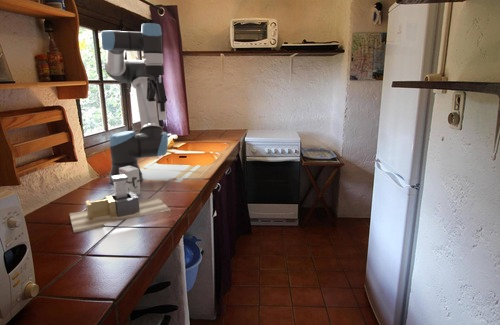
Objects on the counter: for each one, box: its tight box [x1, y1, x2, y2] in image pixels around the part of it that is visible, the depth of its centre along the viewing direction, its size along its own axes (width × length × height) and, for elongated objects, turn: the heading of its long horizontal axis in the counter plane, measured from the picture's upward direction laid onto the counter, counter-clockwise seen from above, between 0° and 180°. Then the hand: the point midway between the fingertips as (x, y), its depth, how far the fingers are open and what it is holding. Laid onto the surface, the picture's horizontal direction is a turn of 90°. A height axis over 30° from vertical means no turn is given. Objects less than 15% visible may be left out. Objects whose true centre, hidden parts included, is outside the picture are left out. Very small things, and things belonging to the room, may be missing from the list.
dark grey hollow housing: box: [111, 192, 140, 217], centre depth 123 cm, size 10×8×6 cm
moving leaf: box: [85, 194, 117, 220], centre depth 119 cm, size 8×9×5 cm
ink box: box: [119, 166, 141, 196], centre depth 142 cm, size 9×5×12 cm, turn 47°
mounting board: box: [69, 197, 171, 233], centre depth 123 cm, size 16×32×1 cm, turn 121°
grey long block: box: [111, 174, 128, 201], centre depth 122 cm, size 5×5×13 cm
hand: (157, 118), depth 141 cm, fingers open, 13 cm apart
